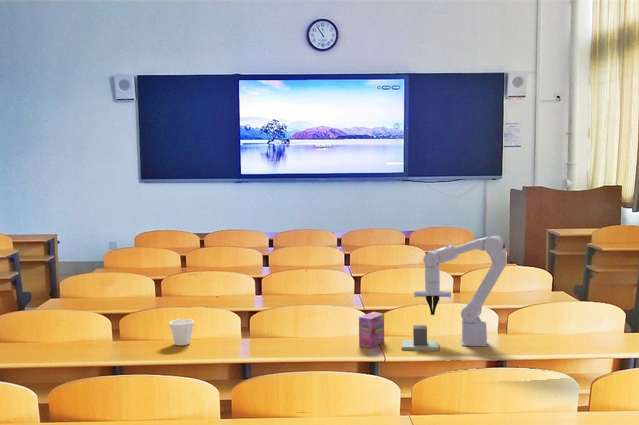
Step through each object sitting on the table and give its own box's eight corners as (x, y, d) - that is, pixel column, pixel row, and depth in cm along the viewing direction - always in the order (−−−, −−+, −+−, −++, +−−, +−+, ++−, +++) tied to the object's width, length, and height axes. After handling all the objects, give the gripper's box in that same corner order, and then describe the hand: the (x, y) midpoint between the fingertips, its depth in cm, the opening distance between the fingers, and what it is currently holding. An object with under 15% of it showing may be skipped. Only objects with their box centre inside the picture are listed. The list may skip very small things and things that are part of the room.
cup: (197, 340, 260) (197, 318, 260) (190, 347, 250) (189, 325, 250) (174, 340, 261) (173, 318, 261) (166, 347, 251) (165, 324, 251)
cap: (426, 341, 247) (426, 325, 246) (427, 345, 242) (426, 328, 241) (413, 341, 248) (413, 325, 247) (413, 345, 242) (413, 328, 242)
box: (371, 348, 244) (370, 318, 243) (358, 346, 247) (358, 316, 246) (385, 342, 252) (384, 313, 251) (372, 340, 255) (372, 311, 255)
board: (438, 343, 248) (438, 340, 248) (438, 350, 239) (438, 347, 238) (402, 342, 251) (402, 339, 251) (401, 350, 241) (401, 346, 241)
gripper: (450, 279, 255) (450, 312, 256) (414, 279, 257) (414, 311, 258) (451, 282, 248) (451, 316, 249) (414, 282, 250) (414, 316, 251)
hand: (432, 314), depth 253 cm, fingers closed
